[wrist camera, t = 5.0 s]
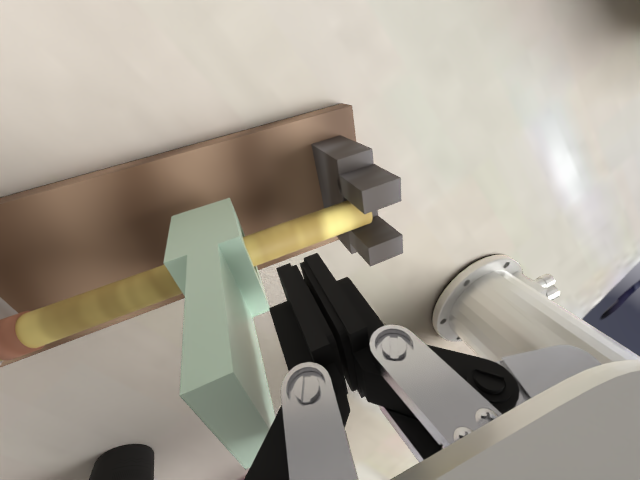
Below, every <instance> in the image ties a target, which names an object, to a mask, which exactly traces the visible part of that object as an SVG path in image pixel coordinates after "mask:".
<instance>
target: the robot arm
mask: <svg viewBox="0 0 640 480" xmlns="http://www.w3.org/2000/svg"><path fill="white" fill-rule="evenodd" d="M300 266H301V269H302V273H303V277H304V278H303V277H302V275H301V273H300V271H299V269H298V267H297V265H294V266H292V267H291V265H290V263H289V264H286V265H284V266H281V267H278V268H276V269H277V272H278V275H279V278H280V281H281V284H282V287H283V290H284V293H285V295H286V298H287V301H286V302H284V303H281V304H279V305H276V306H274V307H271V308H269V309H270V313H271V316H272V319H273V322H274V326H275V329H276V332H277V335H278V338H279V342H280V345H281V348H282V351H283V354H284V357H285V361H286V364H287V367H288V370H289V372H288V373H287V375H286V376H285V377H284V379H283V382H282V385H281V401H282V405H281V407H280V409H279V411H278V413H277V415H276V417H275V419H274V421H273V423H272V425H271V427H270V429H269V431H268V433H267V435H266V437H265V439H264V441H263V443H262V445H261V447H260V449H259V451H258V453H257V455H256V457H255V459H254V461H253V463H252V465H251V467H250V469H249V471H248V473H247V475H246V477H245V479H244V480H358V476H357V473H356V469H355V465H354V461H353V458H352V454H351V450H350V446H349V443H348V439H347V435H346V431H345V425H346V422H347V419H348V416H349V413H350V407H349V403H348V399H347V394H348V391H347V387H346V382H345V379H346V381H347V383H348V385H349V387H350V389H351V390H352V392H353V391H355V390H358V392H359V394H360V396H361V398H363V397H364V396H365V397H366V399H367V401H368V402H371V403H374V404H377V405H378V406H379V408H380V410H381V411H382V413H383V414H384V415H385V417H386V418H387V419H388V421H389V422H390V423H391V425H392V426H393V428H394V429H395V430H396V432H397V433H398V434H399V436H400V437H401V438H402V440H403V441H404V442H405V444H406V445H407V446H408V448H409V449H410V451H411V452H412V453H413V455H414V456H415V457H416V459H417V460H418V461H419V463H418V464H416V465H415V466H413V467H411V468H409V469H408V470H406V471H404V472H403V473H401V474H399V475H397V476H396V477H394V478H392V479H391V480H640V357H639V356H638V355H636V354H635V353H633V352H632V351H630V350H628V349H627V348H625V347H624V346H622V345H621V344H619V343H618V342H616V341H615V340H613V339H611V338H610V337H608V336H607V335H605V334H603V333H602V332H600V331H599V330H597V329H596V328H594V327H593V326H591V325H590V324H588V323H586V322H585V321H583V320H582V319H580V318H579V317H577V316H576V315H574V314H572V313H571V312H569V311H568V310H566V309H565V308H563V307H562V306H560V305H558V304H557V303H555V302H554V301H552V300H554V299H556V298H557V297H559V295H560V293H559V290H558V289H557V287H555V286H554V285H553V284H555V279H554V277H553V276H551V275H549V274H545V275H543V276H541V277H538V278H537V279H536V280H532V279H530V278H528V277H527V276H525V275H524V274H523V269H522V267H521V265H520V264H519V263H518V262H517V261H516V260H514V259H513V258H511V257H509V256H506V255H493V256H489V257H485V258H483V259H481V260H478V261H476V262H475V263H473V264H471V265H470V266H468V267H467V268H466V269H464V270H463V271H462V272H460V273H459V274H458V275H457V276H456V277H455V278H454V279H453V280H452V281H451V282H450V283H449V285H448V286H447V287H446V288H445V290H444V291H443V293H442V294H441V296H440V297H439V299H438V301H437V303H436V306H435V309H434V312H433V319H432V321H433V327H434V329H435V331H436V332H437V333H438V334H439V335H440V336H441V337H442V338H443V339H445V340H447V341H462V340H463V341H464V342H465V344H466V345H467V346H468V347H469V348H470V349H471V350H472V351H473V352H474V353H475V354H476V355H477V356H478V357H476V356H471V355H467V354H463V353H459V352H455V351H451V350H446V349H442V348H438V347H434V346H430V345H426V344H425V343H424V342H422V341H421V340H420V339H419V338H418V337H417V336H416V335H415V334H414V333H413V332H411V331H410V330H408V329H407V328H405V327H402V326H400V325H385V326H384V324H383V323H382V322H381V320H380V319H379V318H378V316H377V315H376V313H375V312H374V311H373V309H372V308H371V307H370V305H369V304H368V303H367V301H366V300H365V299H364V297H363V296H362V295H361V293H360V292H359V291H358V289H357V288H356V287H355V285H354V284H353V283H352V281H351V280H350V279H349V278H348V277H346V278H343V279H341V280H338V281H336V280H335V278H334V277H333V275H332V274H331V272H330V271H329V269H328V268H327V266H326V265H325V264H324V262H323V261H322V259H321V258H320V256H319V255H318V253H316V254H313V255H310V256H308V257H305V258H304V262H302V263H300ZM344 377H345V378H344Z"/></svg>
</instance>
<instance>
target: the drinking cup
mask: <svg viewBox="0 0 640 480" xmlns="http://www.w3.org/2000/svg"><path fill="white" fill-rule="evenodd" d="M89 480H154V451H153V450H152V449H151V448H150V447H148V446H146V445H140V444H132V445H125V446H121V447H117V448H114V449H112V450H110V451H108V452H106V453H104V454H103V455H101V456H100V457H99V458H98V459H97V461H96V462H95V464H94V467H93V470H92V473H91V475H90V478H89Z"/></svg>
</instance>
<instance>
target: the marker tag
mask: <svg viewBox="0 0 640 480" xmlns="http://www.w3.org/2000/svg"><path fill="white" fill-rule="evenodd" d="M243 237H245V234H244V232H243V229H242V227H241V224H240V222H239V219H238V217H237V214H236V212H235V209H234V207H233V205H232V202H231V200H230V198H227V199H224V200H220V201H217V202H214V203H211V204H208V205H205V206H202V207H199V208H195V209H192V210H189V211H186V212H183V213H180V214H177V215H174V216H172V217H171V222H170V228H169V234H168V239H167V245H166V251H165V256H164V262H163V263H164V265H165V266H166V268H167V269H168V271H169V273H170V274H171V276H172V277H173V279H174V280H175V282H176V284H177V285H178V287H179V288H180V290H181V291H182V293H183V295H184V296H185V304H184V322H183V341H182V359H181V378H180V397H181V398H182V399H183V400H184V401H185V402H186V403H187V405H188V406H189V407H190V408H191V409H192V410H193V411H194V412H195V414H196V415H197V416H198V417H199V418H200V419H201V420H202V421H203V422H204V424H205V425H206V426H207V427H208V428H209V429H210V430H211V431H212V433H213V434H214V435H215V436H216V437H217V438H218V439H219V440H220V441H221V443H222V444H223V445H224V446H225V447H226V448H227V449H228V450H229V452H230V453H231V454H232V455H233V456H234V457H235V458H236V459H237V460H238V462H239V463H240V464H241V465H242V466H243V467H244V468H245V469H248V468H250V467H251V465H252V463H253V461H254V459H255V457H256V455H257V453H258V451H259V449H260V447H261V445H262V443H263V441H264V439H265V437H266V435H267V433H268V431H269V429H270V427H271V425H272V423H273V421H274V419H275V413H274V409H273V404H272V400H271V396H270V391H269V387H268V382H267V378H266V374H265V369H264V365H263V360H262V356H261V352H260V347H259V343H258V339H257V334H256V330H255V325H254V321H253V317H255V316H257V315H260V314H262V313H265V312H267V311H270V309H269V308H270V307H269V304H268V300H267V297H266V294H265V291H264V287H263V284H262V281H261V278H260V275H259V271H258V268H257V266H255V267H254V266H253V263H252V261H251V258H250V256H249V253H248V251H247V249H246V246H245V243H244V240H243Z"/></svg>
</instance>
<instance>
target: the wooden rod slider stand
mask: <svg viewBox="0 0 640 480" xmlns="http://www.w3.org/2000/svg"><path fill="white" fill-rule="evenodd" d="M227 198H230V200H231V202H232V205H233V207H234V209H235V212H236V214H237V217H238V219H239V222H240V224H241V227H242V229H243V232H244V234H245V237H243V240H244V243H245V246H246V249H247V251H248V253H249V256H250V258H251V261H252V263H253V266H254V267H255V266H257V268H258V270H260V269H262V268H265V267H268V266H270V265H273V264H276V263H278V262H281V261H283V260H286V259H289V258H291V257H294V256H297V255H299V254H302V253H305V252H307V251H310V250H313V249H315V248H318V247H321V246H323V245H326V244H329V243H331V242H334V241H336V240H340V241H341V242H342V243H343V244H344V246H345V247H346V248H347V249H348V250H349V251H350V253H351V254H353V253H356V252H358V253H359V254H360V255H361V256H362V257H363V259H364V260H365V261H366V262H367V263H368V264H369V265H370V266H373V265H375V264H377V263H380V262H382V261H385V260H387V259H390V258H392V257H395V256H397V255H400V254H402V253H403V240H402V234H400V233H399V232H398V231H397V230H395V229H394V228H393V227H392V226H390V225H389V224H388V223H387V222H385V221H384V220H383V219H381V218H380V217H379V216H378V211H377V210H378V209H381V208H384V207H386V206H389V205H392V204H395V203H397V202H400V201H401V178H400V177H398V176H396V175H394V174H392V173H390V172H388V171H386V170H384V169H382V168H380V167H379V166H377V165H375V164H373V153H372V149H371V148H369V147H367V146H364V145H362V144H360V143H357V142H356V136H355V127H354V119H353V110H352V105H347V104H338V105H334V106H331V107H327V108H323V109H320V110H316V111H313V112H309V113H305V114H302V115H298V116H294V117H291V118H287V119H284V120H280V121H276V122H273V123H269V124H266V125H262V126H258V127H255V128H251V129H247V130H244V131H240V132H237V133H233V134H229V135H226V136H222V137H218V138H215V139H211V140H208V141H204V142H200V143H197V144H193V145H189V146H186V147H182V148H179V149H175V150H171V151H168V152H164V153H160V154H157V155H153V156H150V157H146V158H142V159H139V160H135V161H131V162H128V163H124V164H121V165H117V166H113V167H110V168H106V169H103V170H99V171H95V172H92V173H88V174H84V175H81V176H77V177H74V178H70V179H66V180H63V181H59V182H55V183H52V184H48V185H45V186H41V187H37V188H34V189H30V190H26V191H23V192H19V193H16V194H12V195H8V196H5V197H1V198H0V367H3V366H5V365H8V364H11V363H13V362H16V361H19V360H21V359H24V358H26V357H29V356H32V355H34V354H37V353H40V352H42V351H45V350H48V349H50V348H53V347H56V346H58V345H61V344H64V343H66V342H69V341H72V340H74V339H77V338H79V337H82V336H85V335H87V334H90V333H93V332H95V331H98V330H101V329H103V328H106V327H109V326H111V325H114V324H117V323H119V322H122V321H125V320H127V319H130V318H132V317H135V316H138V315H140V314H143V313H146V312H148V311H151V310H154V309H156V308H159V307H162V306H164V305H167V304H170V303H172V302H175V301H177V300H180V299H183V298H185V296H184V295H183V293H182V291H181V290H180V288H179V287H178V285H177V284H176V282H175V280H174V279H173V277H172V276H171V274H170V273H169V271H168V269H167V268H166V266H165V265H164V263H163V262H164V256H165V251H166V245H167V239H168V234H169V228H170V222H171V217H172V216H174V215H177V214H180V213H183V212H186V211H189V210H192V209H195V208H199V207H202V206H205V205H208V204H211V203H214V202H217V201H220V200H224V199H227Z"/></svg>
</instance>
